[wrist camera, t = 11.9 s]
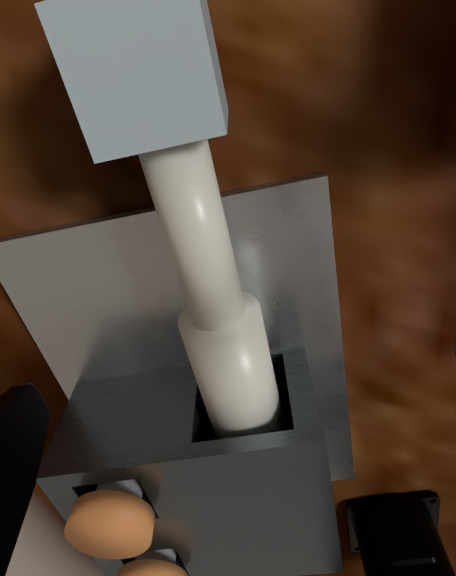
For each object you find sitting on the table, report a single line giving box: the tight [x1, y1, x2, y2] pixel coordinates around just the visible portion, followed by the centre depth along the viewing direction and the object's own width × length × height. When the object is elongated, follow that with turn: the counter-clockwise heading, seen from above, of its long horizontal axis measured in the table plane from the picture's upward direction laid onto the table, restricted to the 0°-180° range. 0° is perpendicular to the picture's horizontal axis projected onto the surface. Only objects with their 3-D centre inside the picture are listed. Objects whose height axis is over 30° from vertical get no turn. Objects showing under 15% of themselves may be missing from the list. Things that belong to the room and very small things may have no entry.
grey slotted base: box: [0, 172, 354, 576], centre depth 21 cm, size 21×16×7 cm
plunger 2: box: [117, 548, 188, 576], centre depth 23 cm, size 4×4×4 cm
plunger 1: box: [64, 479, 155, 559], centre depth 20 cm, size 4×4×4 cm
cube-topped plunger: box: [34, 0, 286, 440], centre depth 17 cm, size 20×4×4 cm, turn 12°
